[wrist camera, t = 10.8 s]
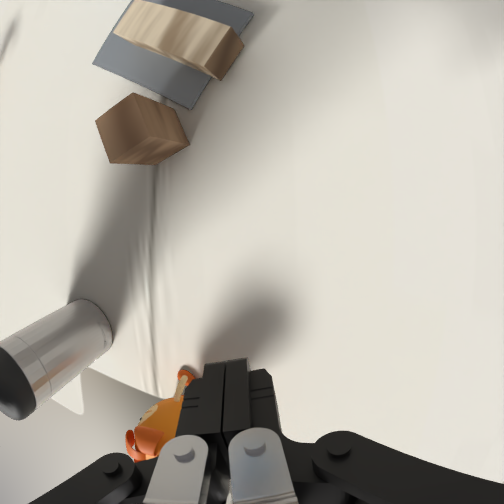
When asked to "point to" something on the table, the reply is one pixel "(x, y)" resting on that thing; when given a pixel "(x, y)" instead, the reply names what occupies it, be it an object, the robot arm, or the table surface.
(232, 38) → the beech block
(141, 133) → the walnut block
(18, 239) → the table surface
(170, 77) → the slate mat
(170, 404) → the toy figure
